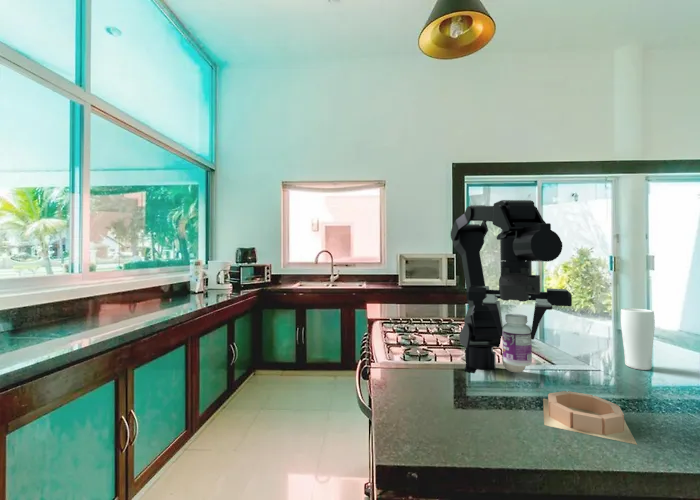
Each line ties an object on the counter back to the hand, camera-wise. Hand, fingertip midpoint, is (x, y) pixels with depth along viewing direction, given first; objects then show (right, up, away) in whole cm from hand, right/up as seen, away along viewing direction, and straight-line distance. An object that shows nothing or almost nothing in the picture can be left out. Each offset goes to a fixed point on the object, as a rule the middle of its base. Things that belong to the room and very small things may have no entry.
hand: (516, 337), depth 68 cm
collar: (+6, -11, -10) cm, 17 cm away
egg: (+7, -13, +15) cm, 21 cm away
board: (+6, -12, -10) cm, 17 cm away
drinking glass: (+41, -13, +19) cm, 47 cm away
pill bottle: (0, -5, 0) cm, 5 cm away
